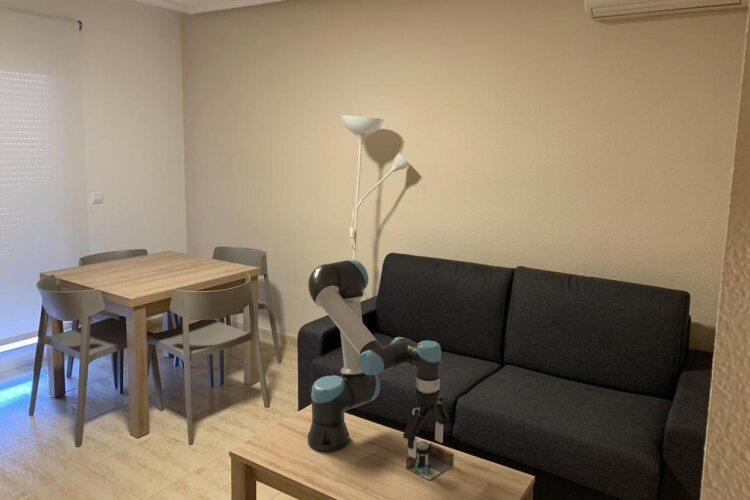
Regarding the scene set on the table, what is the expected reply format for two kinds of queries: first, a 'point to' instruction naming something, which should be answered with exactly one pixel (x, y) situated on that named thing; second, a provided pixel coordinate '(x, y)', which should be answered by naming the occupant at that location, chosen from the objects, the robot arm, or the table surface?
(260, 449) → the table surface
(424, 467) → the push button
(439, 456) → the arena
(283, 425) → the table surface
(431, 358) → the robot arm
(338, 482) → the table surface
